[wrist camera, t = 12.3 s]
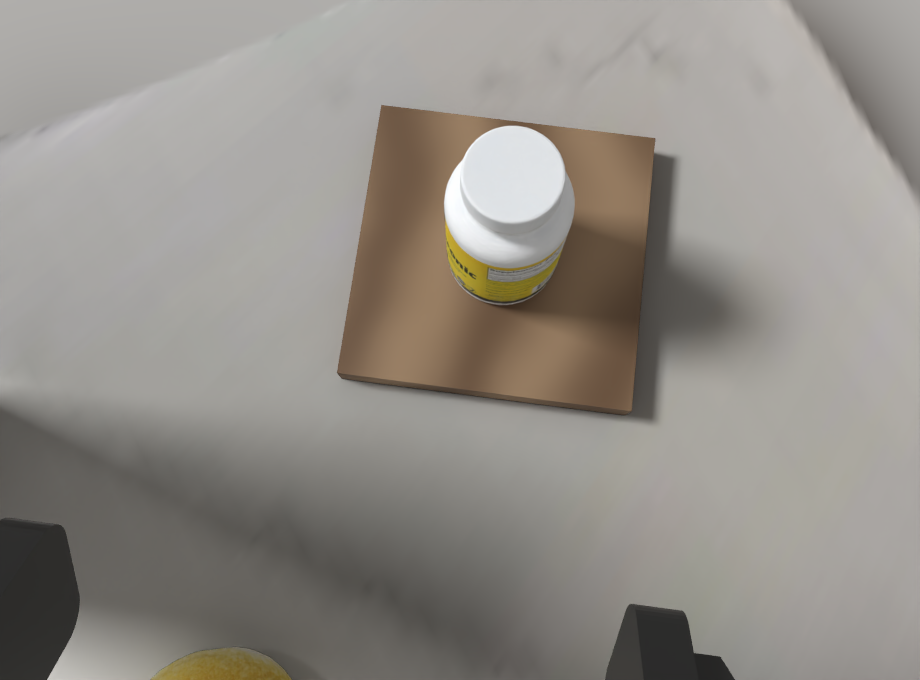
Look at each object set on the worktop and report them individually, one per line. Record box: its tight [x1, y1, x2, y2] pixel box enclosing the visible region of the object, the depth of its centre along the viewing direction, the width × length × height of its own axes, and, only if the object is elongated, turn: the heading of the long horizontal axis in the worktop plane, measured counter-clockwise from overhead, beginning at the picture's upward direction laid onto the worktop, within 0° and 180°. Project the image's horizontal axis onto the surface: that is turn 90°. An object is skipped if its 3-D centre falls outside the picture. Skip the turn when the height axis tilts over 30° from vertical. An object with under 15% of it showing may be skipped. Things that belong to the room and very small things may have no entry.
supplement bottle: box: [444, 126, 575, 305], centre depth 36 cm, size 5×5×10 cm
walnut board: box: [337, 105, 655, 415], centre depth 42 cm, size 14×14×2 cm
